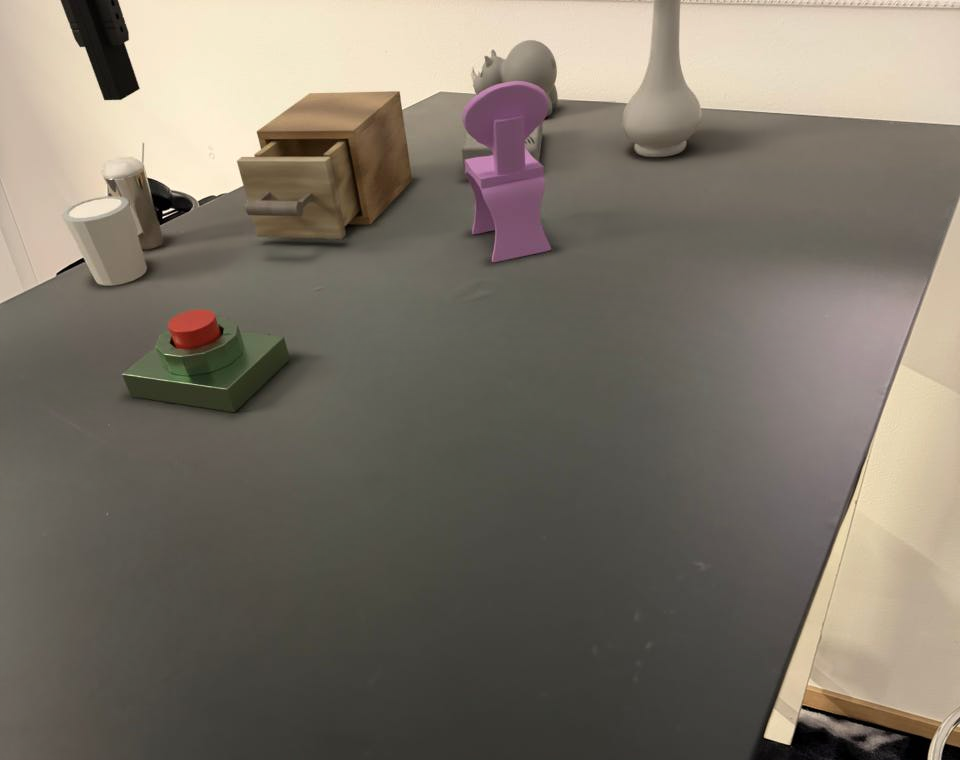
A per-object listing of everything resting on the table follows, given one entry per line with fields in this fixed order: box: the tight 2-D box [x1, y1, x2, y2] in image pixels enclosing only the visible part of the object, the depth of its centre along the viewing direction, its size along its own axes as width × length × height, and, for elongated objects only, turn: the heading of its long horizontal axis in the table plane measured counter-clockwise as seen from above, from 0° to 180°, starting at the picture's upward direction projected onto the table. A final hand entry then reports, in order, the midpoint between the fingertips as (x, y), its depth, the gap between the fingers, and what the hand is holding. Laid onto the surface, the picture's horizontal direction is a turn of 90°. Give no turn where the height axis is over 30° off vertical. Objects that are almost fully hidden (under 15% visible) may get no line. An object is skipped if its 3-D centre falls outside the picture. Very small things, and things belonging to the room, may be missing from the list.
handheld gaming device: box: [461, 122, 544, 177], centre depth 108 cm, size 9×15×4 cm, turn 175°
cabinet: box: [256, 90, 413, 226], centre depth 101 cm, size 14×12×10 cm
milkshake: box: [101, 141, 165, 251], centre depth 97 cm, size 4×5×10 cm
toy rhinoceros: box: [470, 39, 559, 117], centre depth 118 cm, size 7×12×8 cm, turn 72°
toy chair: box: [461, 81, 552, 263], centre depth 86 cm, size 8×9×15 cm
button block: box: [121, 316, 291, 413], centre depth 75 cm, size 11×9×4 cm
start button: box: [167, 308, 221, 349], centre depth 74 cm, size 4×4×2 cm
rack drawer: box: [236, 139, 361, 240], centre depth 95 cm, size 17×10×8 cm, turn 162°
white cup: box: [61, 195, 148, 286], centre depth 93 cm, size 7×7×7 cm
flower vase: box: [621, 0, 703, 158], centre depth 97 cm, size 13×18×25 cm
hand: (122, 94), depth 68 cm, fingers closed
